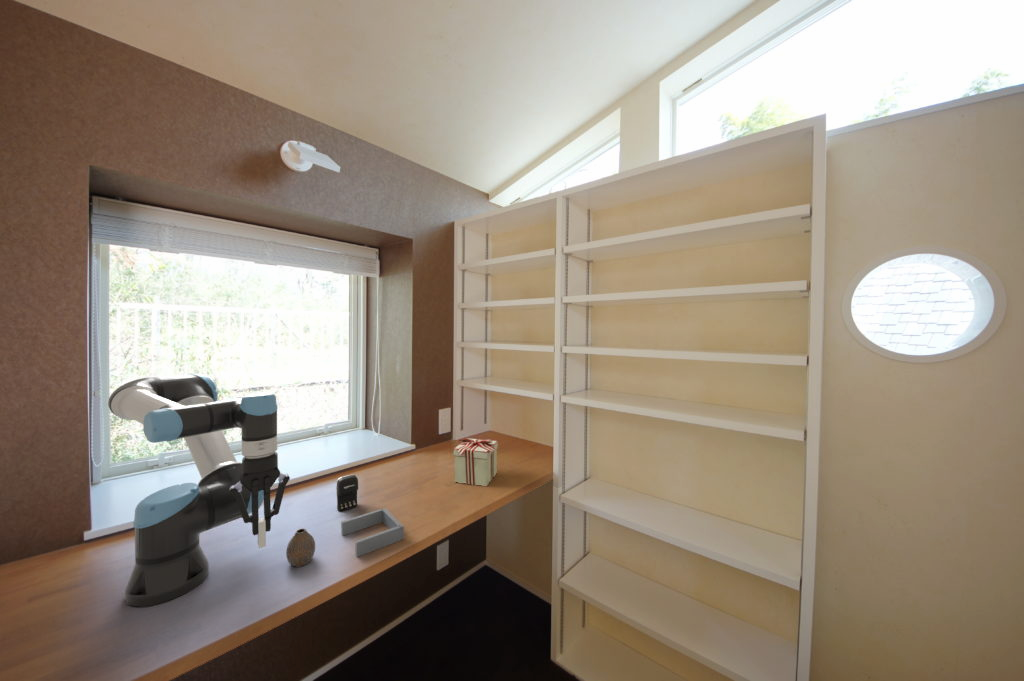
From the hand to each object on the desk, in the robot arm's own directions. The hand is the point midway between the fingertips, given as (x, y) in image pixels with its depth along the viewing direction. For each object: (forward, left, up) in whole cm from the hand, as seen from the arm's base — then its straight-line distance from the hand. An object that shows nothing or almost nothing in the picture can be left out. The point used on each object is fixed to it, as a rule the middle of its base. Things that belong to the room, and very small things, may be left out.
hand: (261, 544), depth 93 cm
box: (+28, 0, -8) cm, 29 cm away
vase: (+9, 0, -9) cm, 12 cm away
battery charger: (+28, +24, -9) cm, 38 cm away
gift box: (+78, +15, -9) cm, 80 cm away
